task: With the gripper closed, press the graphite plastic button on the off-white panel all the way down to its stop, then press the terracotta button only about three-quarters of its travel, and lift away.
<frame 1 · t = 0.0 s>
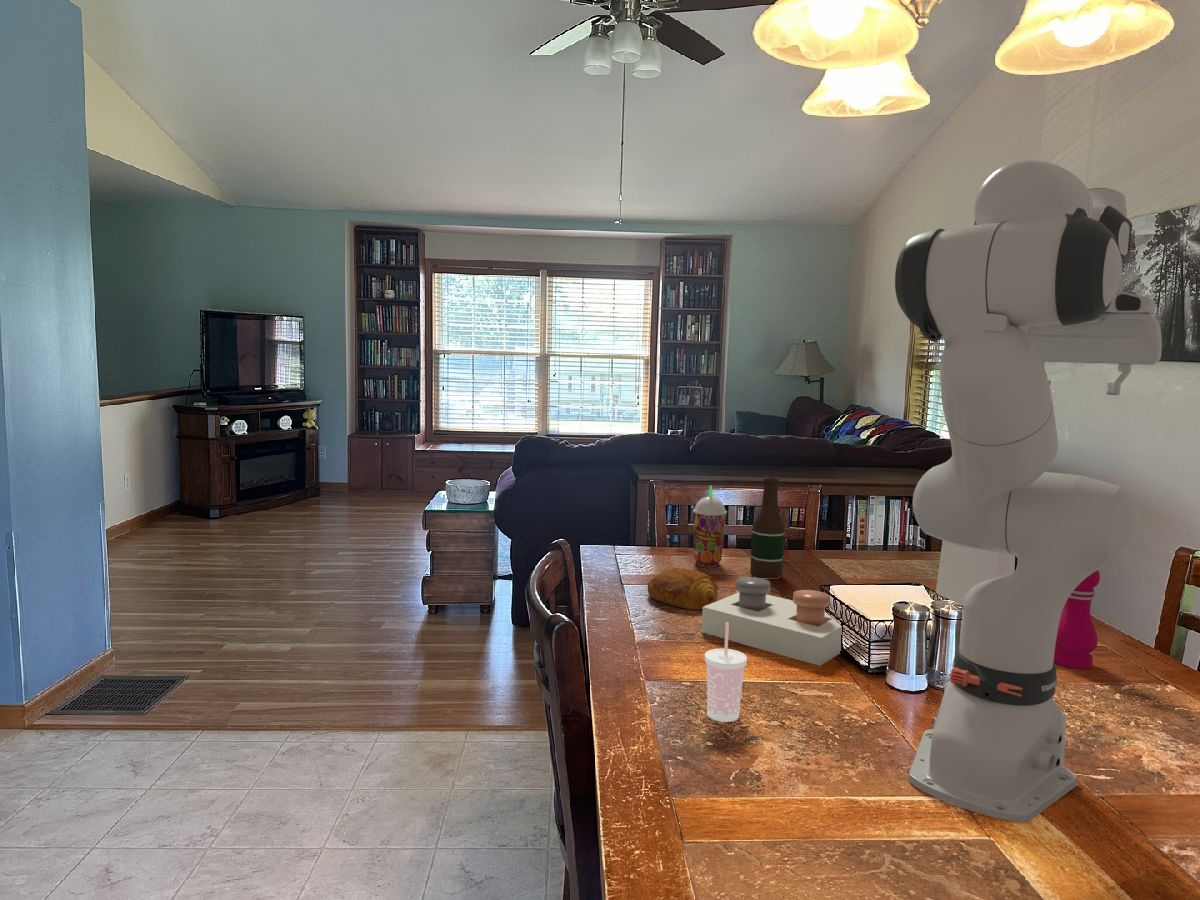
hand: (1077, 393, 126), 48 cm above the table, fingers open, 8 cm apart
beverage cup: (722, 716, 121), on the table
croissant: (685, 601, 176), on the table
button panel: (778, 637, 154), on the table
pepper mill: (1071, 663, 145), on the table
smoothie: (707, 565, 207), on the table
beer bottle: (766, 576, 197), on the table
terracotta button: (810, 612, 150), point 6 cm above the table, slide at 0.0 cm
graphite button: (752, 598, 157), point 6 cm above the table, slide at 0.0 cm
milk: (972, 622, 167), on the table
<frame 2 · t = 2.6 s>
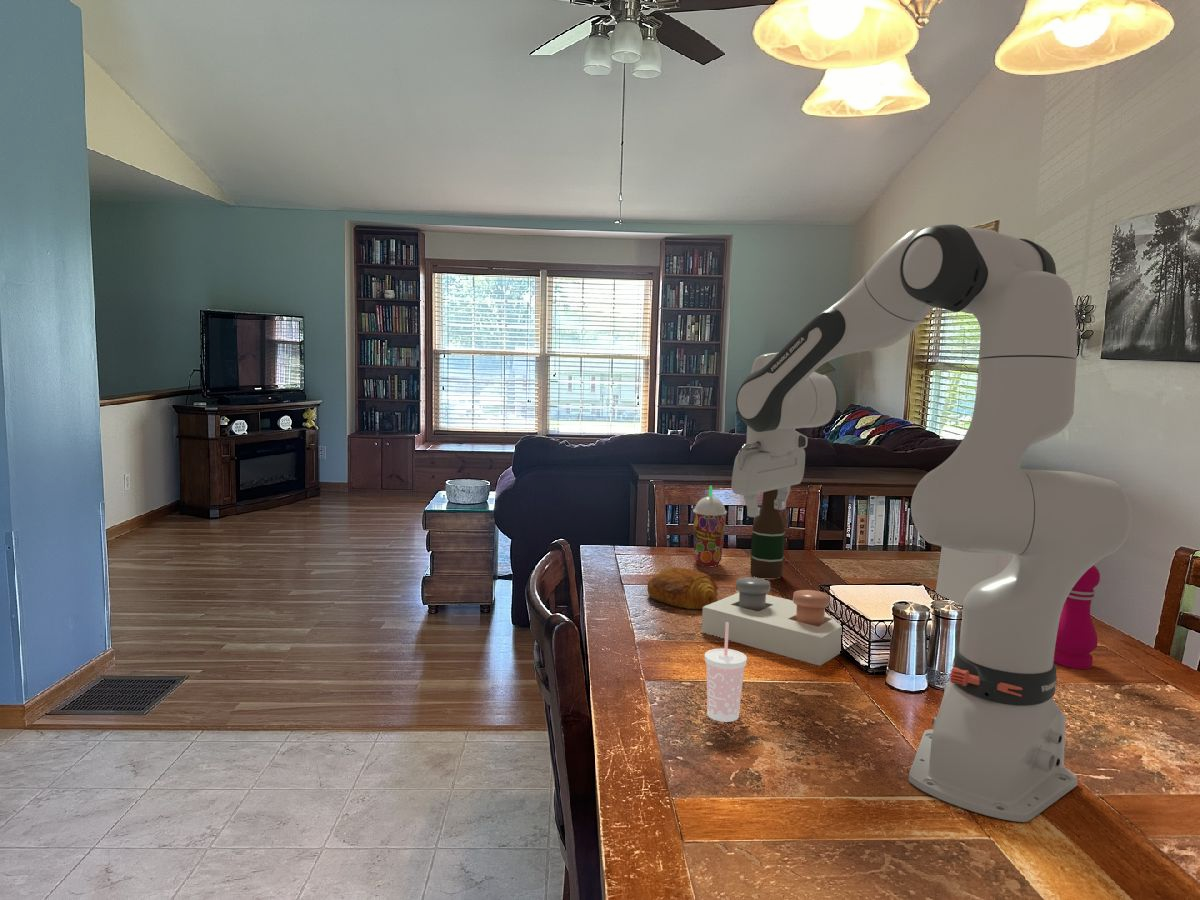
hand: (766, 512, 155), 23 cm above the table, fingers open, 8 cm apart
nothing on the table moved.
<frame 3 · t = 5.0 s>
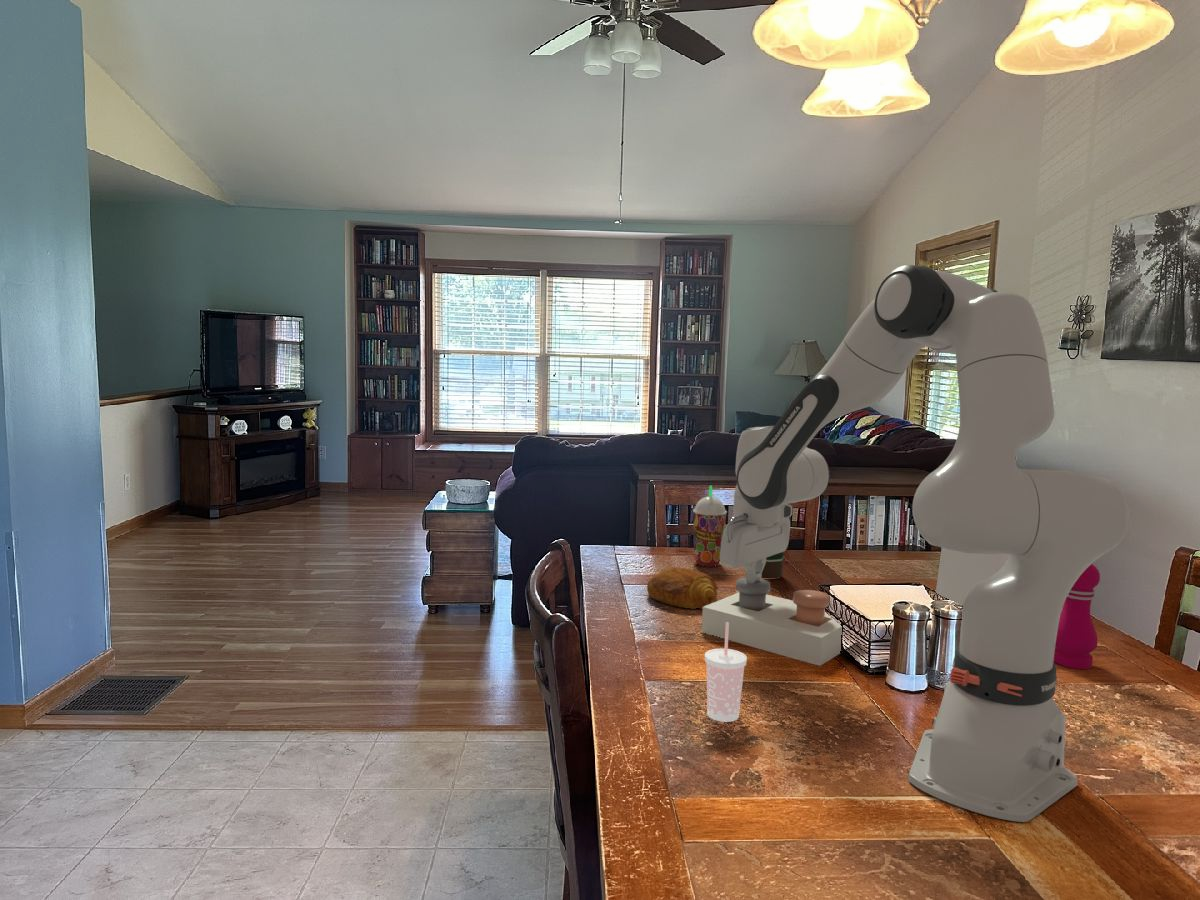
hand: (753, 581, 157), 9 cm above the table, fingers closed, pressing on graphite button
graphite button: (752, 598, 157), point 6 cm above the table, slide at 0.1 cm, touching gripper
everything else where it was.
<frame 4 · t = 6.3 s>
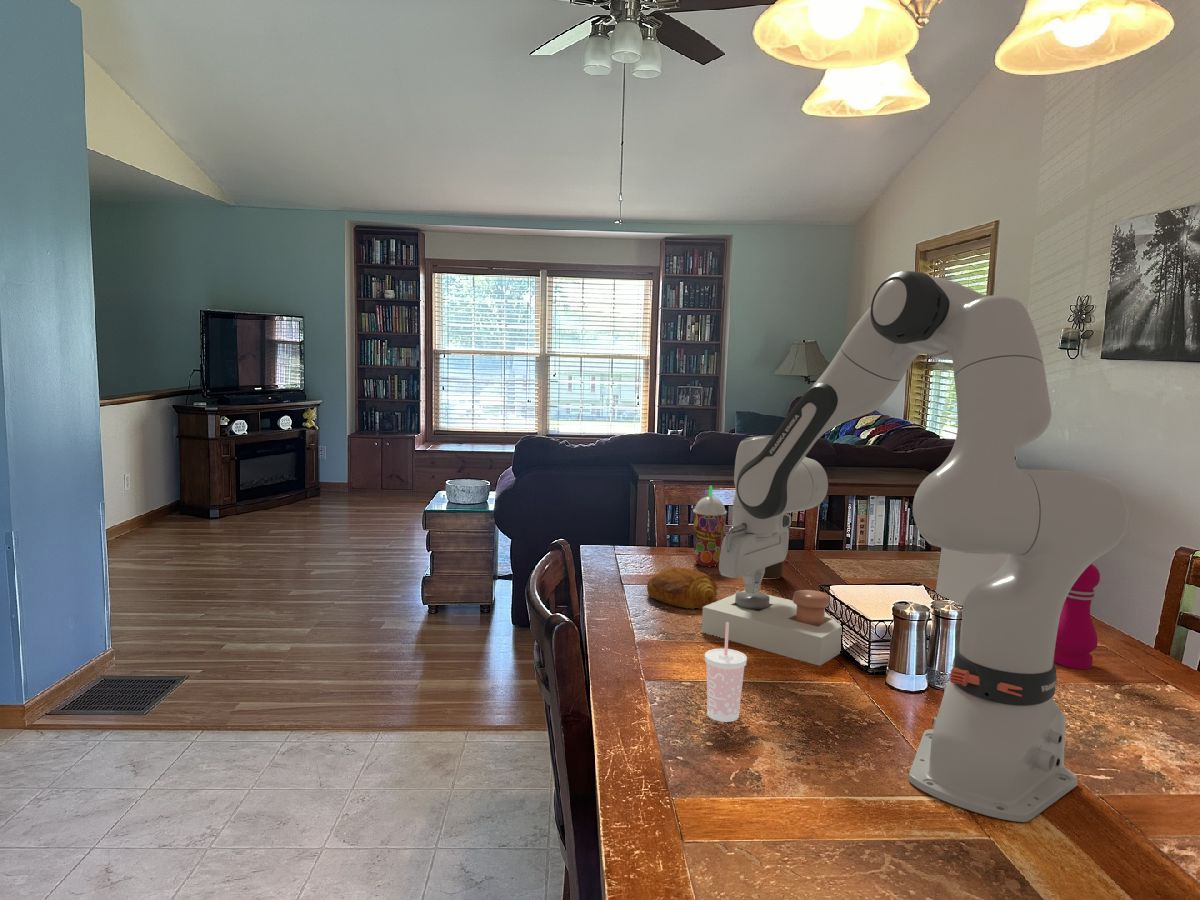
hand: (752, 591, 157), 8 cm above the table, fingers closed
graphite button: (751, 612, 158), point 3 cm above the table, slide at 2.9 cm
everything else where it was.
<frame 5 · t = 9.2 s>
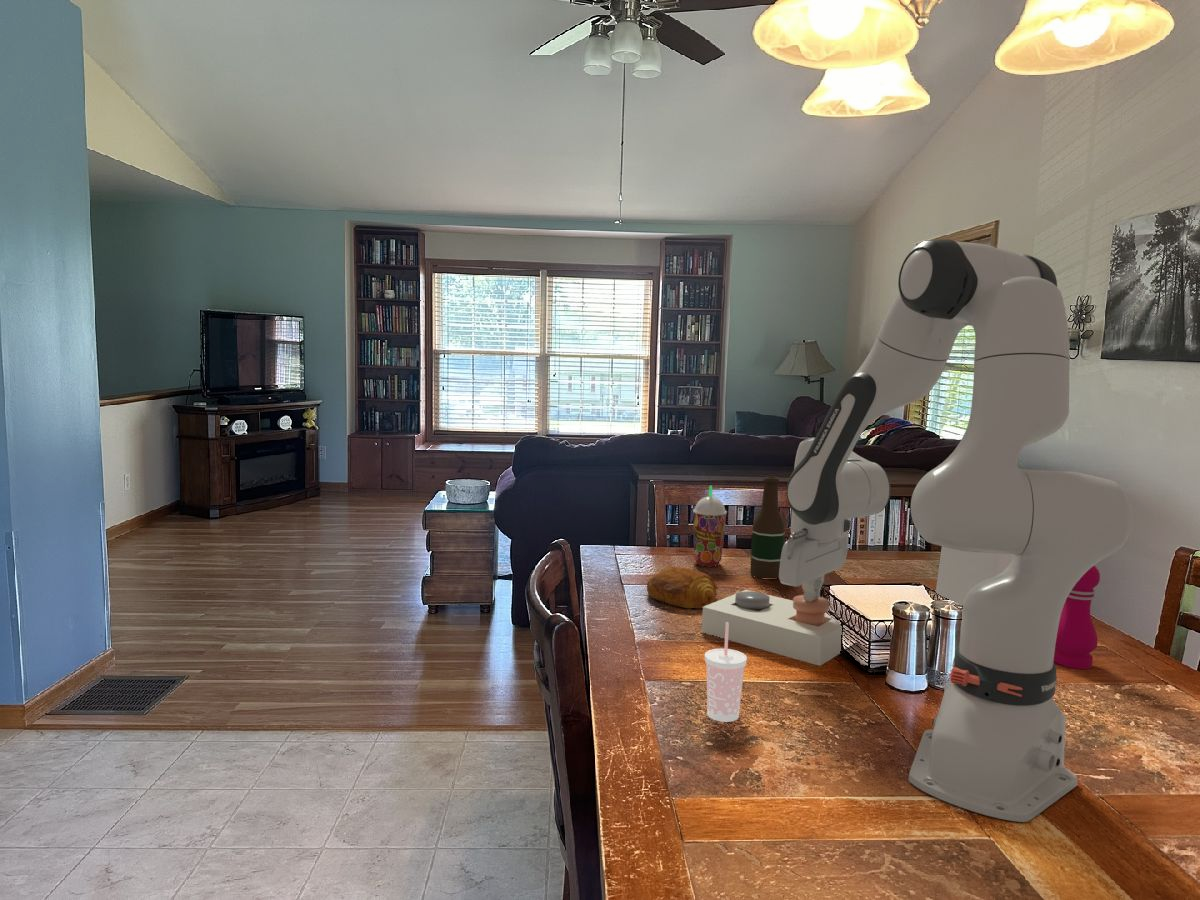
hand: (811, 599, 150), 9 cm above the table, fingers closed, pressing on terracotta button
terracotta button: (810, 617, 150), point 5 cm above the table, slide at 1.0 cm, touching gripper
everything else where it was.
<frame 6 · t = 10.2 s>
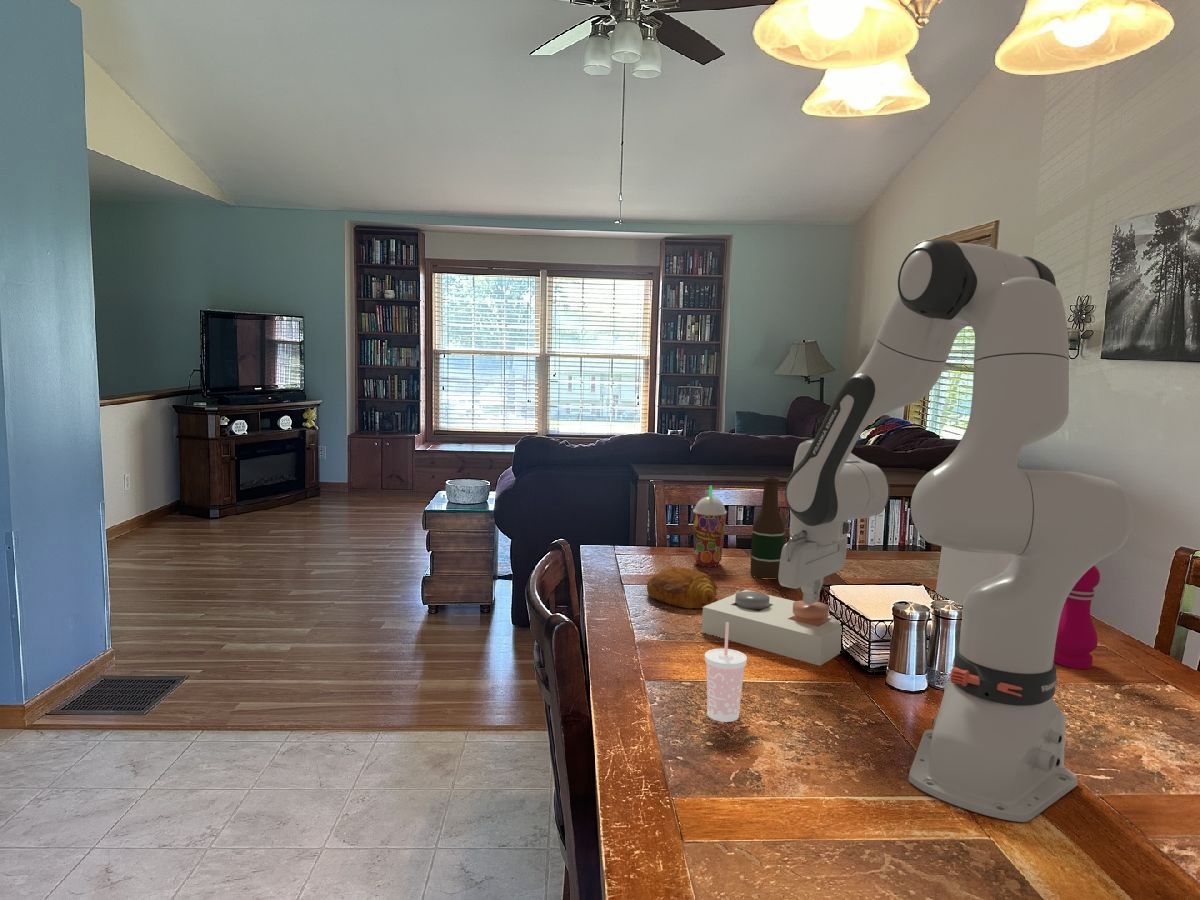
hand: (810, 602, 149), 8 cm above the table, fingers closed
terracotta button: (809, 622, 150), point 4 cm above the table, slide at 2.0 cm
everything else where it was.
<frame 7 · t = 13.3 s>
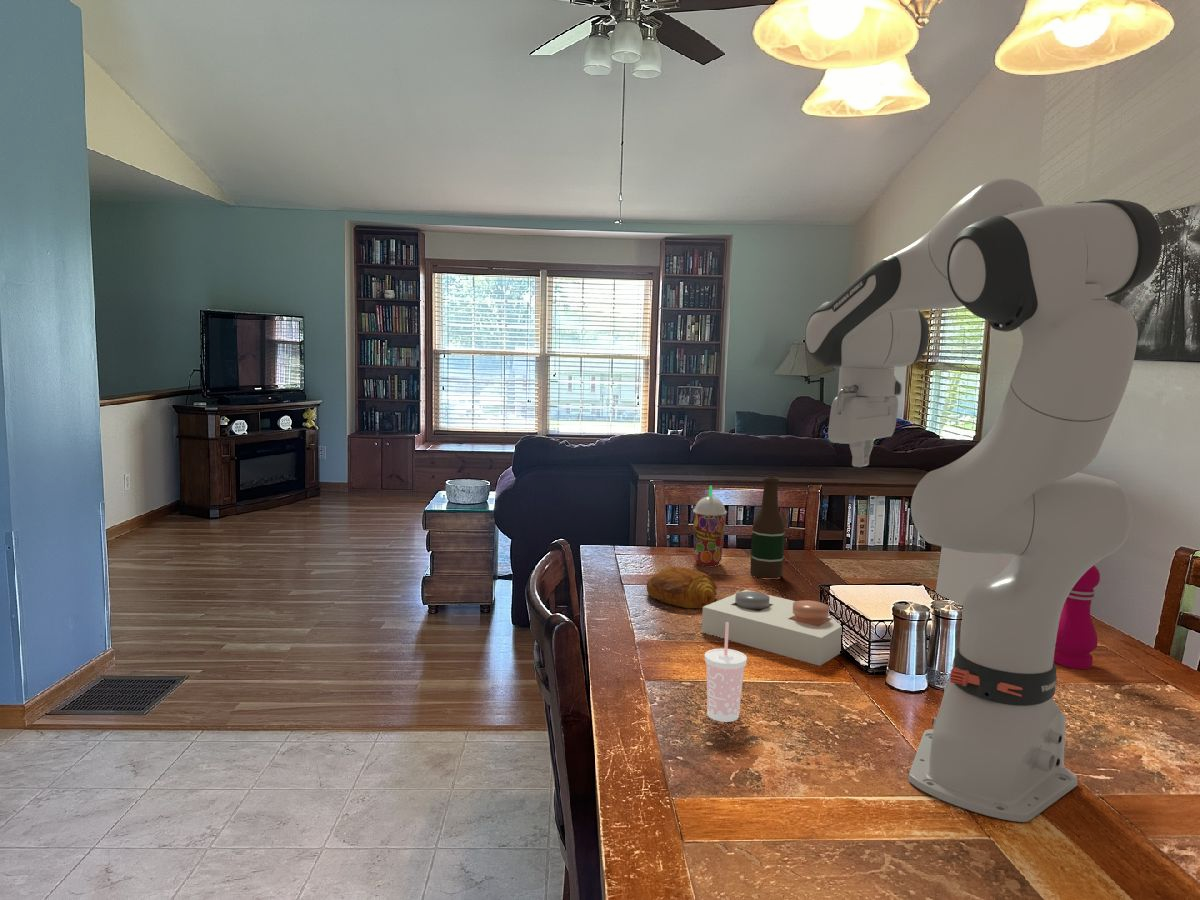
hand: (860, 466, 141), 34 cm above the table, fingers closed
nothing on the table moved.
at the end: graphite button slide at 2.9 cm; terracotta button slide at 2.0 cm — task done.
